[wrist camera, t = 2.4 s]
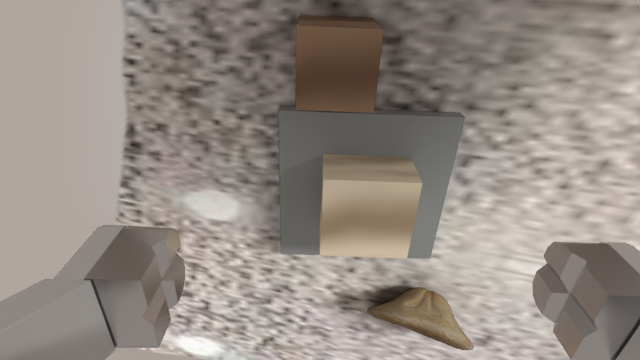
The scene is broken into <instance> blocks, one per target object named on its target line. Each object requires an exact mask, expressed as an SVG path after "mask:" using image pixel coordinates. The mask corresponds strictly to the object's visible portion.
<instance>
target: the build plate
mask: <svg viewBox="0 0 640 360" xmlns="http://www.w3.org/2000/svg"><path fill="white" fill-rule="evenodd" d="M295 108H296V107H293V106H280V107H279V110H278V114H279V168H280V223H281V254H306V255H320V212H321V191H322V170H323V154H330V155H357V156H384V157H411V159H412V161H413V163H414V165H415V168H416V170H417V172H418V174H419V176H420V178H421V181H422V183H423V184H422V188H421V193H420V198H419V203H418V208H417V213H416V218H415V222H414V227H413V232H412V237H411V242H410V247H409V251H408V256H407V258H430V256H431V252H432V248H433V244H434V240H435V236H436V232H437V228H438V224H439V220H440V216H441V212H442V208H443V204H444V199H445V195H446V191H447V187H448V183H449V179H450V175H451V171H452V167H453V163H454V159H455V155H456V151H457V147H458V143H459V139H460V135H461V131H462V127H463V123H464V119H465V117H464V116H463V115H462V114H461V113H448V112H422V111H396V110H374V113H366V112H341V111H316V110H295Z"/></svg>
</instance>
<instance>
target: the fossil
mask: <svg viewBox="0 0 640 360" xmlns="http://www.w3.org/2000/svg"><path fill="white" fill-rule="evenodd" d="M367 312H368V313H369V314H371V315H372V316H374V317H376V318H379V319H383V320H385V321H388V322H390V323H393V324H397V325H400V326H403V327H405V328H408V329H411V330H413V331H415V332H417V333H420V334H422V335H424V336H427V337H429V338H432V339H435V340H437V341H440V342H442V343H445V344H447V345H449V346H452V347H454V348H458V349H461V350H472V349H473V344H472V342H471V341H470V339H469V338H468V337H467V336H466V335H465V333H464V332H463V331H462V329H461V328H460V326H459V324H458V323H457V321H456V320H455V318H454V316H453V314H452V311H451V308H450V306H449V304H448V302H447V301H446V300H445V299H444V298H443V297H442V296H441V295H439V294H438V293H436V292H433V291H428V290H427V289H425V288H420V287H418V288H414V289H411V290H408V291H406V292H404V293H402V294H400V295H399V296H398V297H396V298H394V299H392V300H390V301H389V302H386V303H383V304H381V305H379V306H376V307H371V308H368V309H367Z"/></svg>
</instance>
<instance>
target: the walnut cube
mask: <svg viewBox="0 0 640 360" xmlns="http://www.w3.org/2000/svg"><path fill="white" fill-rule="evenodd" d="M383 30H384V29H383V28H382V27H381V26H380V25H379V24H378V23H377V22H376V21H375V20H374V18H358V17H335V16H313V15H300V17H299V20H298V22H297V25H296V108H295V110H316V111H341V112H366V113H374V106H375V98H376V89H377V81H378V72H379V64H380V56H381V47H382V39H383Z"/></svg>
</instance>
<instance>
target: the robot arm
mask: <svg viewBox="0 0 640 360" xmlns="http://www.w3.org/2000/svg"><path fill="white" fill-rule="evenodd" d="M179 246H180V239H179V235H178V231H176V230H175V229H174V228H156V227H139V226H115V225H103V226H101V227H98V228H97V229H96V230H95V231H94V232H93V234H92V235H91V236H90V237H89V238H88V240H87V241H86V242H85V243H84V244H83V245H82V247H81V248H80V249H79V250H78V251H77V252H76V253H75V255H74V256H73V257H72V258H71V259H70V260H69V262H68V263H67V264H66V265H65V266H64V267H63V268H62V270H61V271H60V272H59V273H58V274H57V275H56V276H55V278H54V279H44V280H42V281H40V282H38V283H37V284H34V285H32V286H30V287H29V288H26V289H25V290H22V291H21V292H19V293H17V294H15V295H13V296H11V297H9V298H7V299H5V300H3V301H1V302H0V360H105V359H106V358H107V357H108V356H109V355H110V354H112V353H113V352H114V351H115V348H159V346H160V344H161V342H162V339H163V337H164V335H165V332H166V330H167V328H168V325H169V323H170V321H171V318H170V314H169V309H170V308H172V307H173V306H174V305H176V304H177V303H178V302H179V299H180V297H181V294H182V292H183V287H184V281H185V266H184V260H183V259H182V258H181V257H180V256H179V255H178V254H177V253H176V252H177V250H178V248H179ZM544 258H545V260H546V262H547V264H546V265H545V266H543V267H542V268H541V269H539V270H538V271H537V272H536V275H535V277H534V280H533V297H534V300H535V303H536V305H537V307H538V308H539V310H540V312H541V313H542V314H543V315H544V316H546V317H547V318H548V319H550V320H551V321H553V322H554V329H553V332H554V334H555V335H556V337H557V338H558V340H559V341H560V343H561V345H562V346H563V348H564V349H565V351H566V352H567V354H568V355H569V357H570V359H571V360H640V252H639V251H638V250H637V249H636V248H635V247H634V246H631V245H629V244H627V243H610V242H601V243H579V242H553V243H552V244H551V245H550V246H548V248H547V250H546V252H545V254H544Z"/></svg>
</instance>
